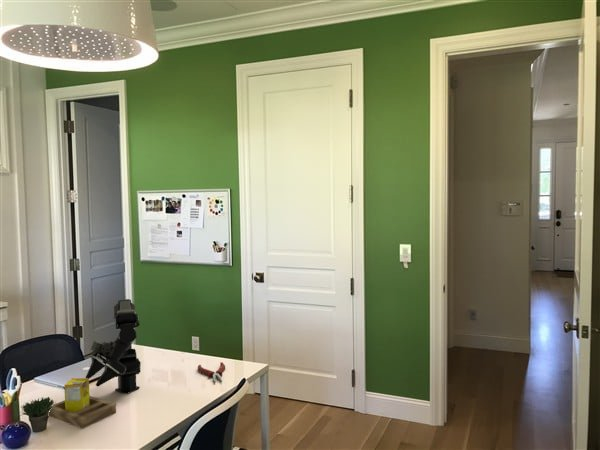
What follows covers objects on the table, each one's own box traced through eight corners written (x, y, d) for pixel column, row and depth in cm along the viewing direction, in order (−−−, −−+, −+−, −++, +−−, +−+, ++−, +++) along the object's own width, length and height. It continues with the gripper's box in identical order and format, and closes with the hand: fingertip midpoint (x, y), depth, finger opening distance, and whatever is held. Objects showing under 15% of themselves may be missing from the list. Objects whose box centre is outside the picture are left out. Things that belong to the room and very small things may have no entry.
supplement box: (90, 408, 168) (89, 377, 167) (83, 416, 162) (82, 384, 161) (72, 408, 167) (71, 377, 167) (65, 416, 161) (64, 384, 161)
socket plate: (116, 412, 164) (115, 404, 164) (82, 428, 153) (81, 419, 153) (82, 401, 173) (82, 393, 173) (47, 415, 162) (47, 406, 162)
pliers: (204, 387, 188) (204, 380, 188) (197, 369, 207) (197, 363, 206) (233, 383, 192) (233, 376, 191) (223, 366, 211) (223, 361, 210)
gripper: (95, 327, 177) (64, 363, 170) (116, 337, 164) (84, 377, 157) (116, 343, 183) (88, 379, 176) (139, 354, 170) (108, 394, 162)
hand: (91, 382), depth 168 cm, fingers open, 9 cm apart
